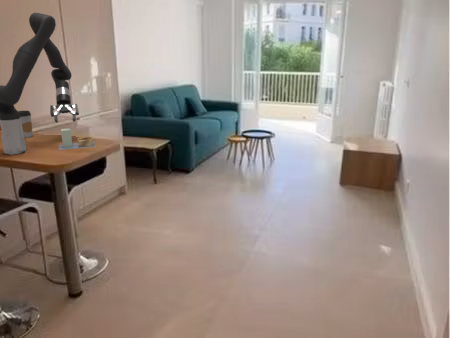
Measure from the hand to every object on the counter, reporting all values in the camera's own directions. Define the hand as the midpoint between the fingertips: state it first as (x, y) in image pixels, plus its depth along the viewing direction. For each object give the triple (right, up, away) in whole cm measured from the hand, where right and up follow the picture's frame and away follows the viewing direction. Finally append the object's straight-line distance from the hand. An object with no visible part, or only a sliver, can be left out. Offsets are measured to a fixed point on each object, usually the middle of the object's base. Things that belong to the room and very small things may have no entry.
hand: (65, 121), depth 200 cm
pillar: (+3, -14, -4) cm, 15 cm away
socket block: (+12, -13, -1) cm, 17 cm away
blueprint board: (+7, -14, -2) cm, 16 cm away
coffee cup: (-32, -7, +21) cm, 39 cm away
